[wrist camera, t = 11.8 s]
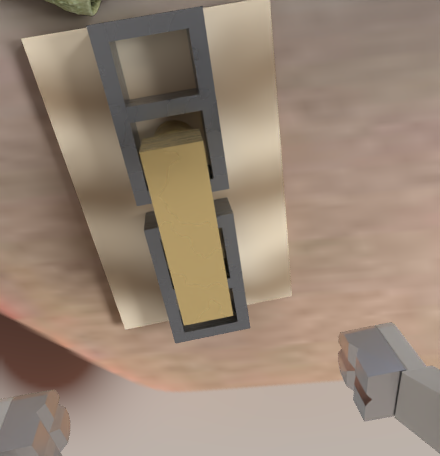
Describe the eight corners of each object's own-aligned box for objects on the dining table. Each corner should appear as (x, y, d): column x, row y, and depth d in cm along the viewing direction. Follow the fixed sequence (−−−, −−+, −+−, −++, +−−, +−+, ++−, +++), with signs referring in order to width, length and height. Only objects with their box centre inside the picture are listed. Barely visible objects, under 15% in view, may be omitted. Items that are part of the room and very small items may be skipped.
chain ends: (95, 26, 20) (86, 25, 17) (198, 8, 20) (202, 6, 18) (174, 319, 29) (175, 343, 27) (243, 305, 29) (250, 328, 27)
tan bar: (145, 121, 22) (139, 152, 16) (193, 112, 22) (202, 140, 16) (180, 263, 27) (184, 325, 21) (219, 255, 27) (233, 315, 21)
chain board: (27, 38, 20) (20, 38, 19) (265, -2, 21) (269, -4, 20) (126, 320, 30) (125, 329, 29) (288, 288, 30) (291, 295, 29)
